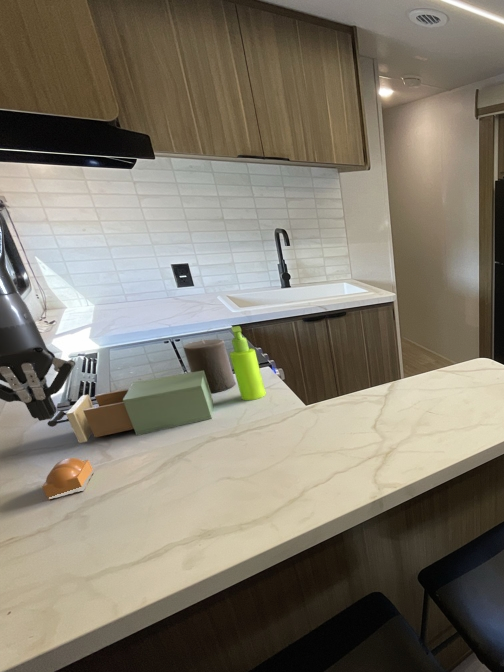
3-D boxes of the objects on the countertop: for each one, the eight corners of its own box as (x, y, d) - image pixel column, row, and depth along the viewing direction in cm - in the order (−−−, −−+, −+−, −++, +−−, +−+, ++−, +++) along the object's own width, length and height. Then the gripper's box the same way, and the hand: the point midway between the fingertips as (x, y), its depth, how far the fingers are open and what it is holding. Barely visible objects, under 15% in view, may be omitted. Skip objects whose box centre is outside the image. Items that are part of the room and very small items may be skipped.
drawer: (52, 449, 86) (37, 419, 84) (69, 427, 95) (56, 400, 93) (156, 426, 95) (146, 398, 92) (163, 408, 104) (153, 382, 102)
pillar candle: (222, 393, 115) (207, 343, 110) (189, 394, 115) (172, 344, 110) (243, 381, 124) (230, 334, 119) (212, 381, 125) (198, 334, 119)
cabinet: (136, 435, 93) (122, 400, 90) (145, 414, 103) (133, 382, 100) (211, 418, 100) (201, 385, 97) (213, 400, 110) (203, 370, 107)
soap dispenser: (243, 403, 108) (223, 331, 101) (240, 395, 114) (221, 326, 106) (267, 397, 111) (250, 327, 104) (264, 390, 117) (247, 323, 110)
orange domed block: (48, 501, 71) (36, 478, 69) (62, 480, 77) (51, 458, 75) (83, 492, 73) (73, 469, 71) (94, 472, 79) (84, 451, 77)
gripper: (62, 313, 71) (101, 401, 78) (-51, 325, 65) (1, 421, 71) (49, 320, 66) (92, 415, 72) (-78, 335, 59) (-18, 438, 65)
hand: (46, 418), depth 71 cm, fingers closed
